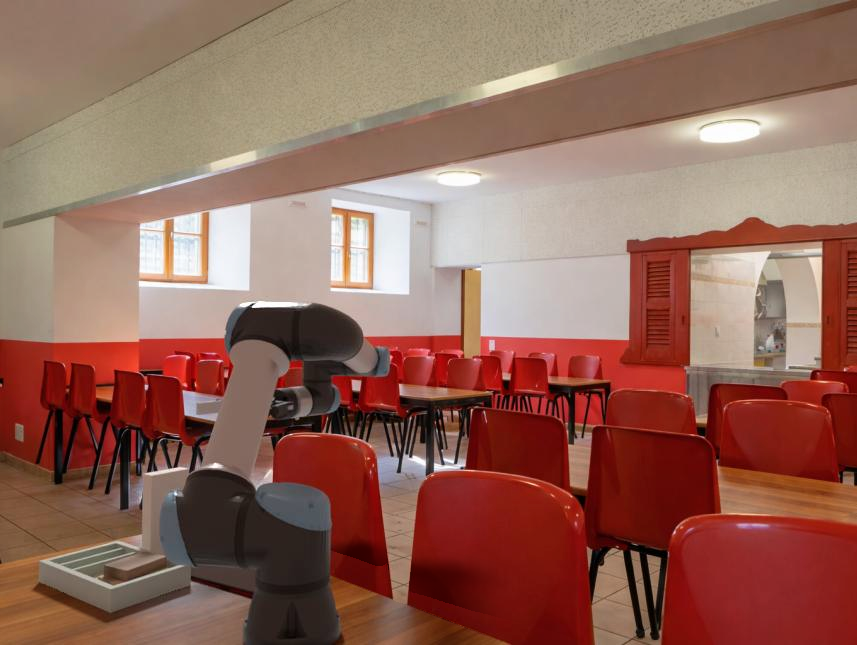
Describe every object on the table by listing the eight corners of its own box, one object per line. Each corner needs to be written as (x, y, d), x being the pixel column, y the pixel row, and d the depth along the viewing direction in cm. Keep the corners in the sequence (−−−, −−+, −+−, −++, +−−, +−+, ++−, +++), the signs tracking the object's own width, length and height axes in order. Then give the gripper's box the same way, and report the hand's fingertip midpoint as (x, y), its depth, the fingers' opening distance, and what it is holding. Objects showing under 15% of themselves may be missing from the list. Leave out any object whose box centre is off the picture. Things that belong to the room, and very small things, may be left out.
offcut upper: (166, 566, 134) (167, 556, 134) (126, 582, 126) (127, 570, 126) (144, 561, 137) (144, 551, 137) (103, 576, 129) (103, 565, 129)
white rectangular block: (187, 552, 153) (189, 468, 153) (150, 564, 146) (151, 475, 146) (179, 550, 155) (180, 467, 155) (141, 561, 147) (142, 473, 147)
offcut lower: (169, 579, 133) (169, 569, 133) (120, 596, 124) (120, 584, 124) (146, 572, 137) (147, 561, 137) (97, 587, 128) (97, 576, 128)
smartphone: (213, 552, 151) (303, 573, 138) (213, 560, 151) (303, 581, 138) (164, 569, 141) (257, 593, 128) (164, 577, 141) (257, 602, 128)
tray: (190, 585, 134) (190, 564, 134) (110, 612, 121) (110, 589, 121) (117, 559, 148) (118, 540, 148) (38, 582, 135) (39, 560, 135)
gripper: (326, 423, 166) (255, 434, 149) (253, 414, 180) (181, 423, 163) (326, 390, 166) (256, 397, 149) (254, 384, 180) (181, 390, 163)
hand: (217, 411), depth 156 cm, fingers open, 13 cm apart
